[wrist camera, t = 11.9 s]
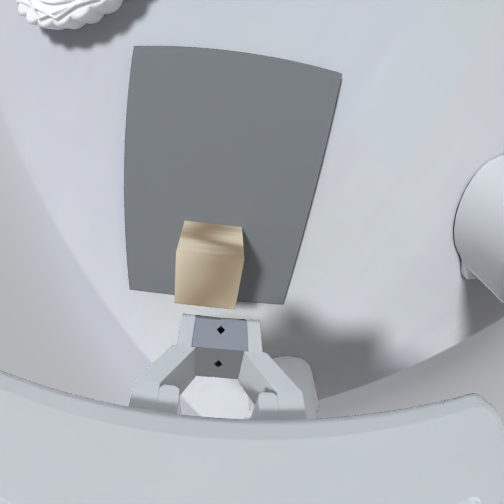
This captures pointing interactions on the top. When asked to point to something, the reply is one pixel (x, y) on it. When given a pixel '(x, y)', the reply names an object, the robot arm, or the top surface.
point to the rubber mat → (222, 159)
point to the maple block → (209, 265)
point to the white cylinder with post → (298, 382)
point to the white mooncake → (66, 12)
